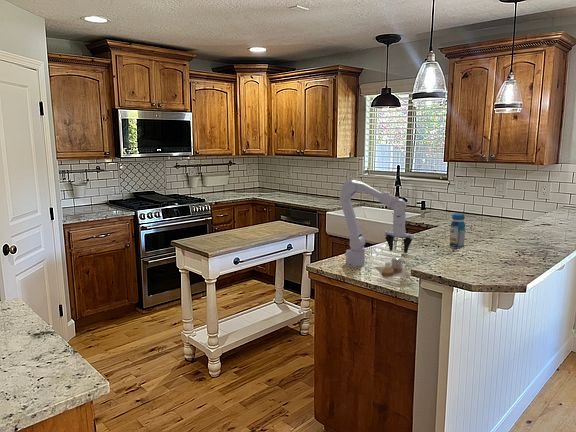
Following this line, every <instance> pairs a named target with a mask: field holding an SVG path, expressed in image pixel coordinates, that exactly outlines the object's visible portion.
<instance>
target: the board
mask: <svg viewBox="0 0 576 432" xmlns="http://www.w3.org/2000/svg"><path fill="white" fill-rule="evenodd" d="M374 268H375V269H376V270H377V272H378V273H380V275H381V276H382V277H383V278H390V277H391V278H393V277H398V278H399V277H411V276H412V274H410V273H409V272H408V271H407V270H405V268H403V269H401V270H394V272H393V274H392V275H386V274H383V273H382V268H385V265H383V266H374Z"/></svg>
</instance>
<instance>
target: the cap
mask: <svg viewBox="0 0 576 432" xmlns="http://www.w3.org/2000/svg"><path fill="white" fill-rule="evenodd" d="M390 263H391V268H393V269H394V270H401V269H404V268H403V266H404V265H403V263H404V262H403V258H401V257H392V258H391V262H390Z"/></svg>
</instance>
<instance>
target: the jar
mask: <svg viewBox="0 0 576 432" xmlns="http://www.w3.org/2000/svg"><path fill="white" fill-rule="evenodd" d="M384 266H385V268H382V273H383V274H386V275H392V274H393V272H394V269H393V268H391V262H385V263H384Z"/></svg>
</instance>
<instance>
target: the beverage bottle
mask: <svg viewBox="0 0 576 432" xmlns="http://www.w3.org/2000/svg"><path fill="white" fill-rule="evenodd" d="M465 215H466V214H464V213H459V212H457V213H452V214H451V220H452V221H451V223H450V225H449V226H450V229H449V232H450V234H449V235H450V236H449V237H450V238H449V248H451V249H454V248H462V247H464V248H465V237H466V235H465V234H466V224H465V217H466V216H465Z"/></svg>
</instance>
